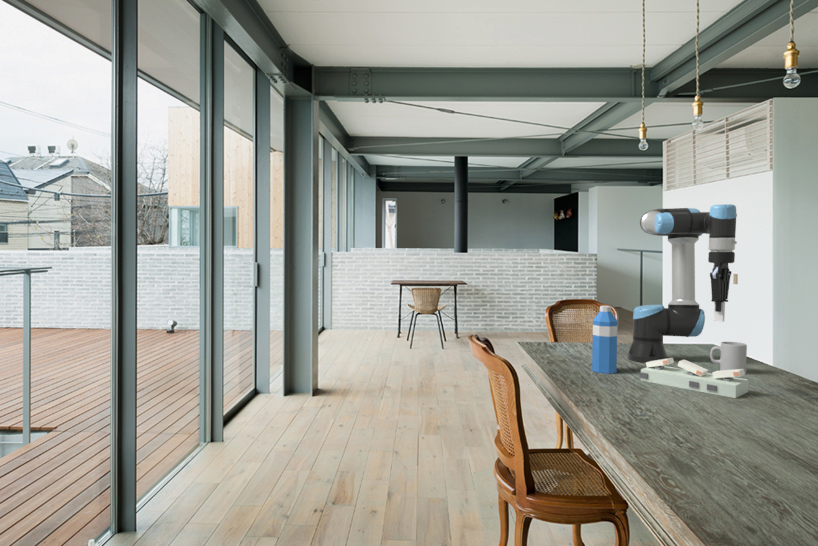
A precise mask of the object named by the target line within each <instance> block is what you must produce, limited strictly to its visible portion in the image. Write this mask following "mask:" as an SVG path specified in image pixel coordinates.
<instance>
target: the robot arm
mask: <svg viewBox="0 0 818 546" xmlns="http://www.w3.org/2000/svg"><path fill="white" fill-rule="evenodd" d="M737 217H738V213H737V206H736V205H735V204H713V205H710V210H709V211H707V212H706V211H703V212H702V211H700V210H699V209H697V208H693V207H691V208H689V207H684V208H682V207H680V208H679V207H677V208H656V209H652V210H649V211H647V212H645V213H643V215H642V216H641V218H640V220H639V225H640V229H641V230H642V231H643V232H644V233H646V234H648V235H652V236H659V237H667V241H668V242H669V243H670V245H671V300H670V302H669V303H668V305H667V307H666V308H665V306H664V304H646V305H645V304H644V305H640V306H635V308H634V309H633V314H632V315H633V316H632V319H633V320H632V322H633V323H632V326H633V327H632V328H633V329H632V342H631V345H630V347H629V351H628V353H627V354H628V357H627V358H628V359H629V360H631V361H634V362H638V363H646V362H649V361H654V360H661V359H667V358H668V354H667V352H666V349H665V345H664V337H666V336H667V337H684V338H690V337H695V338H696V337H699V336H700V335H701V334H702V332H703V329H704V327H705V322H706V315H705V311H704V309H702V308H700V304H699V303H698V302H697V301H696V270H695V269H696V268H695V267H696V263H695V262H696V257H695V245H696V244H695V243H697V242H698V241H699V240H700V239H699V237H700V236H703V234H706V235H707V234H708V235H709V236H708V250H709V252H708V257H707V258H708V263H709V264H710V263H711V264H713V268H712V270H711V272H709V277H710V287H711V288H710V289H711V302H712V303H714V305H713V307H714V308H713V311H714V312H713V321H715V322H720V323H721V322H722V323H723V322H725V313H726V312H725V311H726V303H728V302H729V299H728V297H729V290H730V281H731V277H732V271H730V268H729V264H733V263H735V258H736V254H735V252H734V250H735V249H736V245H737V244H738V243H737V241H736V230H737V228H736V227H737Z"/></svg>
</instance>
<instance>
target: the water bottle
mask: <svg viewBox="0 0 818 546" xmlns="http://www.w3.org/2000/svg"><path fill="white" fill-rule="evenodd" d="M591 349H592V353H591V354H592V356H591V357H592V359H591V360H592V361H591V367H592V368H591V371H592V372H594V373H598V374H608V375H611V374H617V367H618V366H617V365H618V364H617V361H618V319H617V318H616V316H615V315H614V314H613V312H612V306H611V305H599V312H598V314H597V315H596V316H595V317H594V319H592V348H591ZM610 373H611V374H610Z"/></svg>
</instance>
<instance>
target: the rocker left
mask: <svg viewBox="0 0 818 546" xmlns="http://www.w3.org/2000/svg"><path fill="white" fill-rule="evenodd" d="M645 364H646V367H654V366H667V365H671V364H675V360H674V357H669V358H668V357H667V359H661V360H654V361H649V362H645Z"/></svg>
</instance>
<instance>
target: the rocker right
mask: <svg viewBox="0 0 818 546" xmlns="http://www.w3.org/2000/svg"><path fill="white" fill-rule="evenodd" d="M711 374H713V378H724V377H735V378H742V377H743V376H745V375H746V374H745V372H744V369H735V370H720V369H719V370H716V371H712V373H711Z"/></svg>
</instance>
